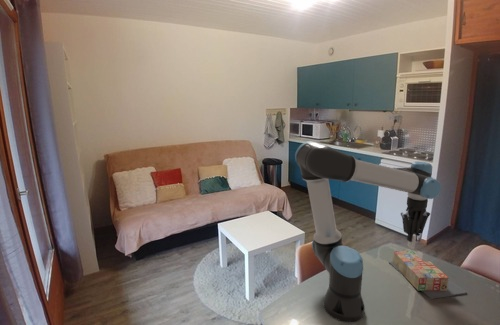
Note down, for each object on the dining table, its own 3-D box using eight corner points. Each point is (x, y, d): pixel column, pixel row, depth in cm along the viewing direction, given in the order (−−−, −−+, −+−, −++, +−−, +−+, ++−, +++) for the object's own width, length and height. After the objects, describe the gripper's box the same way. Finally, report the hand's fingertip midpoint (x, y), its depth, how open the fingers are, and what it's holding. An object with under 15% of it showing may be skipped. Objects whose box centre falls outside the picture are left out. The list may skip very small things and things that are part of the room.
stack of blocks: (393, 250, 134) (418, 250, 134) (392, 262, 135) (416, 262, 135) (419, 278, 113) (449, 277, 113) (418, 291, 114) (447, 290, 114)
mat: (430, 299, 110) (431, 297, 110) (388, 263, 135) (388, 262, 135) (466, 293, 113) (467, 292, 113) (419, 259, 138) (419, 258, 138)
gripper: (410, 201, 112) (403, 253, 117) (438, 199, 115) (430, 250, 119) (397, 195, 120) (392, 244, 125) (424, 194, 122) (417, 242, 127)
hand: (410, 247), depth 122 cm, fingers closed
